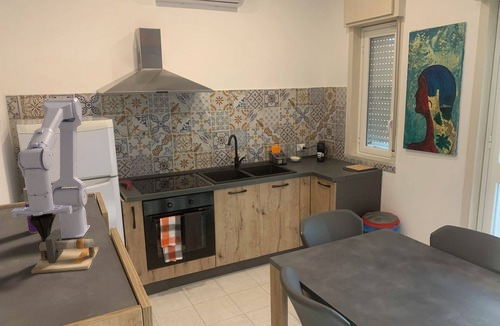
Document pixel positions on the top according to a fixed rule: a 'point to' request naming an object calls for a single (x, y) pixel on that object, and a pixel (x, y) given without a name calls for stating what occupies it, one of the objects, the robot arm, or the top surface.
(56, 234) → the collar
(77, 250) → the pipe stand
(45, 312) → the top surface
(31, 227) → the container
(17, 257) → the top surface
